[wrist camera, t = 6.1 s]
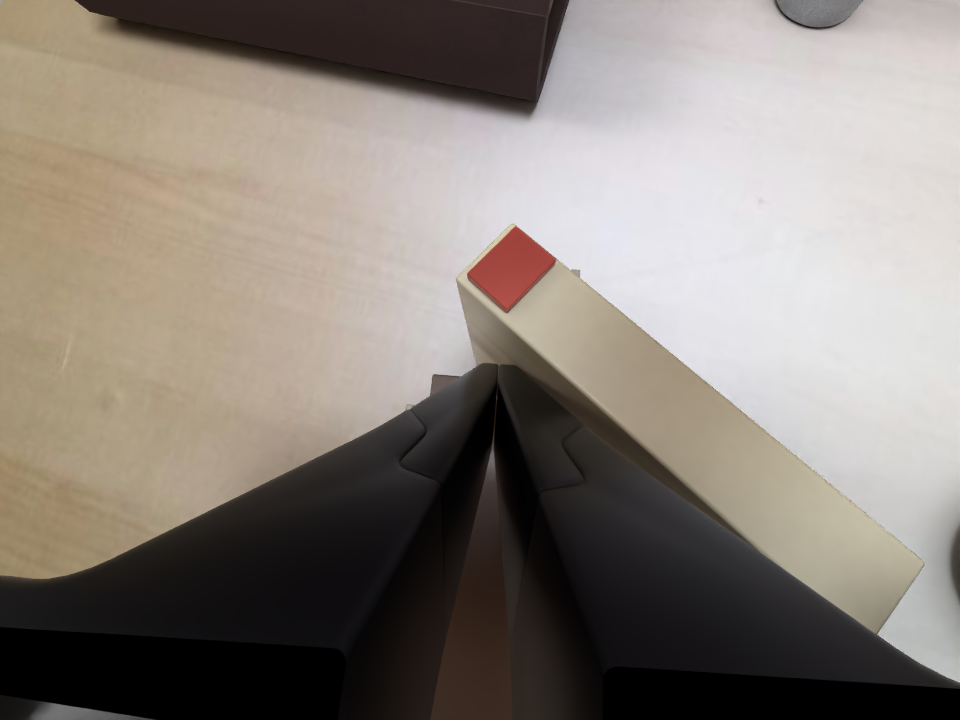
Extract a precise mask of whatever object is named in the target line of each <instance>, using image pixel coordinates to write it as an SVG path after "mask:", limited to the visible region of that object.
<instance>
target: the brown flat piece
mask: <svg viewBox="0 0 960 720" xmlns="http://www.w3.org/2000/svg"><path fill="white" fill-rule="evenodd" d="M571 271H572V272H573V273H574V274H576V275H577V276H578V277H579V278H580V270H573V269H572V270H571ZM458 378H460V376H448V375H436V374H434V375H433V377H432V385H431V394H430V396H431V395H433V394H434V393H436V392H437V391H439V390H441V389H442V388H444V387H445V386H447V385H449V384H450V383H452V382H453V381H455V380H456V379H458ZM497 389H498V385H497ZM496 402H497V398H496ZM413 406H415V405H406V410H408V409H409V410H410V408H412V407H413ZM495 415H496V410H495ZM494 428H495V423H494ZM509 645H510V643H509V637H508V624H507V612H506V599H505V586H504V573H503V561H502V548H501V535H500V523H499V510H498V497H497V485H496V472H495V459H494V436H493V444H492V449H491V454H490V458H489V462H488V466H487V471H486V475H485V479H484V483H483V487H482V492H481V496H480V500H479V504H478V508H477V512H476V517H475V521H474V525H473V529H472V533H471V538H470V542H469V546H468V550H467V554H466V559H465V563H464V567H463V571H462V575H461V580H460V584H459V588H458V592H457V596H456V601H455V605H454V609H453V613H452V617H451V621H450V626H449V630H448V634H447V635H446V642H445V647H444V651H443V656H442V660H441V665H440V670H439V675H438V680H437V685H436V691H435V697H434V702H433V708H432V713H431V719H430V720H512V685H511V664H510V649H509Z"/></svg>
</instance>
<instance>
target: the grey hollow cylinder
mask: <svg viewBox="0 0 960 720" xmlns="http://www.w3.org/2000/svg"><path fill="white" fill-rule="evenodd" d="M776 1H777V4H778V6H779V7H780V9H781V10H782V12H783V13H784V14H785V15H787V16H788V17H789V18H790V19H792V20H794V21H796V22H798V23H800V24H803V25H806V26H811V27H828V26H832V25H835V24H838V23H840V22H842V21H844V20H845V19H847V18H848V17H849V16H850V15H851V14H852V13H853V11H854V10H855V9H856V8H857V7H858V6H859V5H860V4H861V3H862V1H863V0H776Z"/></svg>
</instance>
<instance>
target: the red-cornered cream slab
mask: <svg viewBox="0 0 960 720" xmlns="http://www.w3.org/2000/svg"><path fill="white" fill-rule="evenodd" d="M456 282H457V287H458V291H459V295H460V299H461V303H462V307H463V311H464V315H465V320H466V324H467V328H468V332H469V336H470V340H471V344H472V349H473V353H474V357H475V361H476V364H477V366H479V365H480V364H482V363H494V364H498V365H499V366H500V365H501V364H507V365H515V366H517V367H518V368H519V369H520V370H522V371H523V372H524V373H525V374H526V375H527V376H528V377H530V378H531V379H532V380H533V381H534V382H535V383H537V384H538V385H539V386H540V387H541V388H542V389H543V390H545V391H546V392H547V393H548V394H549V395H550V396H552V397H553V398H554V399H555V400H556V401H557V402H558V403H560V404H561V405H562V406H563V407H564V408H565V409H567V410H568V411H569V412H570V413H571V414H572V415H573V416H575V417H576V418H577V419H578V420H579V421H580V422H582V423H583V424H584V425H586V426H587V427H588V428H589V429H591V430H592V431H593V432H594V433H595V434H596V435H598V436H599V437H600V438H601V439H603V440H604V441H605V442H606V443H608V444H609V445H610V446H611V447H613V448H614V449H615V450H617V451H618V452H619V453H621V454H622V455H623V456H625V457H626V458H627V459H629V460H630V461H632V462H633V463H634V464H636V465H637V466H639V467H640V468H641V469H643V470H644V471H646V472H647V473H648V474H650V475H651V476H653V477H654V478H656V479H657V480H658V481H660V482H661V483H663V484H664V485H665V486H667V487H668V488H670V489H671V490H673V491H674V492H675V493H677V494H678V495H680V496H681V497H682V498H684V499H685V500H687V501H688V502H690V503H691V504H692V505H694V506H695V507H697V508H698V509H699V510H701V511H702V512H704V513H705V514H707V515H708V516H709V517H711V518H712V519H714V520H715V521H716V522H718V523H719V524H721V525H722V526H724V527H725V528H726V529H728V530H729V531H731V532H732V533H733V534H735V535H736V536H738V537H739V538H741V539H742V540H743V541H745V542H746V543H748V544H749V545H750V546H752V547H753V548H755V549H756V550H758V551H759V552H760V553H762V554H763V555H765V556H766V557H767V558H769V559H770V560H772V561H773V562H775V563H776V564H777V565H779V566H780V567H782V568H783V569H784V570H786V571H787V572H789V573H790V574H792V575H793V576H794V577H796V578H797V579H799V580H800V581H801V582H803V583H804V584H806V585H807V586H809V587H810V588H811V589H813V590H814V591H816V592H817V593H818V594H820V595H821V596H823V597H824V598H826V599H827V600H828V601H830V602H831V603H833V604H834V605H835V606H837V607H838V608H840V609H841V610H843V611H844V612H845V613H847V614H848V615H850V616H851V617H852V618H854V619H855V620H857V621H858V622H860V623H861V624H862V625H864V626H865V627H867V628H868V629H869V630H871V631H872V632H874V633H875V634H878V632H879V631H880V629H881V628H882V626H883V625H884V623H885V622H886V621H887V619H888V618H889V616H890V615H891V613H892V612H893V610H894V609H895V607H896V606H897V605H898V603H899V602H900V600H901V599H902V597H903V596H904V594H905V593H906V591H907V590H908V589H909V587H910V586H911V584H912V583H913V581H914V580H915V578H916V577H917V575H918V574H919V573H920V571H921V570H922V568H923V567H924V562H923V560H922V559H920V558H919V557H918V556H917V555H916V554H914V553H913V552H912V551H911V550H909V549H908V548H907V547H906V546H905V545H903V544H902V543H901V542H900V541H899V540H897V539H896V538H895V537H894V536H892V535H891V534H890V533H889V532H888V531H886V530H885V529H884V528H883V527H882V526H880V525H879V524H878V523H877V522H875V521H874V520H873V519H872V518H871V517H869V516H868V515H867V514H866V513H865V512H863V511H862V510H861V509H860V508H858V507H857V506H856V505H855V504H854V503H852V502H851V501H850V500H849V499H848V498H846V497H845V496H844V495H843V494H841V493H840V492H839V491H838V490H837V489H835V488H834V487H833V486H832V485H831V484H829V483H828V482H827V481H826V480H824V479H823V478H822V477H821V476H820V475H818V474H817V473H816V472H815V471H814V470H812V469H811V468H810V467H809V466H807V465H806V464H805V463H804V462H803V461H801V460H800V459H799V458H798V457H797V456H795V455H794V454H793V453H792V452H790V451H789V450H788V449H787V448H786V447H784V446H783V445H782V444H781V443H780V442H778V441H777V440H776V439H775V438H773V437H772V436H771V435H770V434H769V433H767V432H766V431H765V430H764V429H763V428H761V427H760V426H759V425H758V424H756V423H755V422H754V421H753V420H752V419H750V418H749V417H748V416H747V415H746V414H744V413H743V412H742V411H741V410H739V409H738V408H737V407H736V406H735V405H733V404H732V403H731V402H730V401H729V400H727V399H726V398H725V397H724V396H722V395H721V394H720V393H719V392H718V391H716V390H715V389H714V388H713V387H712V386H710V385H709V384H708V383H707V382H705V381H704V380H703V379H702V378H701V377H699V376H698V375H697V374H696V373H695V372H693V371H692V370H691V369H690V368H688V367H687V366H686V365H685V364H684V363H682V362H681V361H680V360H679V359H678V358H676V357H675V356H674V355H673V354H671V353H670V352H669V351H668V350H667V349H665V348H664V347H663V346H662V345H661V344H659V343H658V342H657V341H656V340H654V339H653V338H652V337H651V336H650V335H648V334H647V333H646V332H645V331H644V330H642V329H641V328H640V327H639V326H637V325H636V324H635V323H634V322H633V321H631V320H630V319H629V318H628V317H627V316H625V315H624V314H623V313H622V312H620V311H619V310H618V309H617V308H616V307H614V306H613V305H612V304H611V303H610V302H608V301H607V300H606V299H605V298H603V297H602V296H601V295H600V294H599V293H597V292H596V291H595V290H594V289H593V288H591V287H590V286H589V285H588V284H586V283H585V282H584V281H583V280H582V279H580V278H579V277H578V276H577V275H576V274H574V273H573V272H572V271H571V270H569V269H568V268H567V267H566V266H565V265H563V264H562V263H561V262H560V261H559V260H557V259H556V258H555V257H554V256H552V255H551V254H550V253H549V252H548V251H546V250H545V249H544V248H543V247H542V246H540V245H539V244H538V243H537V242H535V241H534V240H533V239H532V238H531V237H529V236H528V235H527V234H526V233H525V232H523V231H522V230H521V229H520V228H518V227H517V226H516V225H515V224H511V225H510V226H509V227H508V228H507V229H506V230H505V231H504V232H503V233H501V234H500V235H499V236H498V237H497V238H496V239H495V240H494V241H493V242H492V243H491V244H490V245H489V246H488V247H487V248H486V249H485V250H484V251H483V252H482V253H481V254H480V255H479V256H478V257H477V258H476V259H475V260H474V261H473V262H472V263H471V264H470V265H469V266H468V267H467V268H466V269H465V270H463V271H462V272H461V273H460V274H459V275H458V276H457V278H456ZM498 376H499V372H498Z"/></svg>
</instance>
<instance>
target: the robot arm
mask: <svg viewBox="0 0 960 720" xmlns="http://www.w3.org/2000/svg"><path fill="white" fill-rule="evenodd" d="M498 372H499V376H498ZM497 385H498V389H497ZM496 398H497V402H496ZM495 410H496V415H495ZM494 423H495V428H494ZM493 436H494V459H495V472H496V485H497V497H498V510H499V523H500V535H501V548H502V561H503V573H504V586H505V599H506V612H507V624H508V637H509V643H510V645H509V649H510V664H511V685H512V720H960V683H959V682H956V681H954V680H951V679H949V678H947V677H945V676H943V675H941V674H939V673H937V672H935V671H933V670H931V669H929V668H927V667H925V666H924V665H922V664H920V663H918V662H917V661H915V660H914V659H912V658H910V657H909V656H907V655H906V654H904V653H903V652H901V651H900V650H898V649H896V648H895V647H894V646H892V645H891V644H889V643H888V642H886V641H885V640H884V639H882V638H881V637H879V636H878V635H877V634H875V633H874V632H872V631H871V630H869V629H868V628H867V627H865V626H864V625H862V624H861V623H860V622H858V621H857V620H855V619H854V618H852V617H851V616H850V615H848V614H847V613H845V612H844V611H843V610H841V609H840V608H838V607H837V606H835V605H834V604H833V603H831V602H830V601H828V600H827V599H826V598H824V597H823V596H821V595H820V594H818V593H817V592H816V591H814V590H813V589H811V588H810V587H809V586H807V585H806V584H804V583H803V582H801V581H800V580H799V579H797V578H796V577H794V576H793V575H792V574H790V573H789V572H787V571H786V570H784V569H783V568H782V567H780V566H779V565H777V564H776V563H775V562H773V561H772V560H770V559H769V558H767V557H766V556H765V555H763V554H762V553H760V552H759V551H758V550H756V549H755V548H753V547H752V546H750V545H749V544H748V543H746V542H745V541H743V540H742V539H741V538H739V537H738V536H736V535H735V534H733V533H732V532H731V531H729V530H728V529H726V528H725V527H724V526H722V525H721V524H719V523H718V522H716V521H715V520H714V519H712V518H711V517H709V516H708V515H707V514H705V513H704V512H702V511H701V510H699V509H698V508H697V507H695V506H694V505H692V504H691V503H690V502H688V501H687V500H685V499H684V498H682V497H681V496H680V495H678V494H677V493H675V492H674V491H673V490H671V489H670V488H668V487H667V486H665V485H664V484H663V483H661V482H660V481H658V480H657V479H656V478H654V477H653V476H651V475H650V474H648V473H647V472H646V471H644V470H643V469H641V468H640V467H639V466H637V465H636V464H634V463H633V462H632V461H630V460H629V459H627V458H626V457H625V456H623V455H622V454H621V453H619V452H618V451H617V450H615V449H614V448H613V447H611V446H610V445H609V444H608V443H606V442H605V441H604V440H603V439H601V438H600V437H599V436H598V435H596V434H595V433H594V432H593V431H592V430H591V429H589V428H588V427H587V426H586V425H584V424H583V423H582V422H580V421H579V420H578V419H577V418H576V417H575V416H573V415H572V414H571V413H570V412H569V411H568V410H567V409H565V408H564V407H563V406H562V405H561V404H560V403H558V402H557V401H556V400H555V399H554V398H553V397H552V396H550V395H549V394H548V393H547V392H546V391H545V390H543V389H542V388H541V387H540V386H539V385H538V384H537V383H535V382H534V381H533V380H532V379H531V378H530V377H528V376H527V375H526V374H525V373H524V372H523V371H522V370H520V369H519V368H518V367H517V366H515V365H507V364H501V365H500V366H499V365H498V364H494V363H482V364H480V365H479V366H477V367H476V368H474V369H472V370H471V371H469V372H468V373H466V374H464V375H463V376H461V377H460V378H458V379H456V380H455V381H453V382H452V383H450V384H449V385H447V386H445V387H444V388H442V389H441V390H439V391H437V392H436V393H434V394H433V395H431V396H429V397H428V398H426V399H425V400H423V401H421V402H420V403H418V404H417V405H415V406H413V407H412V408H410V410H409V409H408V410H406V411H404V412H403V413H401V414H400V415H398V416H396V417H395V418H393V419H391V420H389V421H388V422H386V423H384V424H383V425H381V426H379V427H377V428H375V429H373V430H371V431H370V432H368V433H366V434H364V435H362V436H360V437H358V438H356V439H354V440H352V441H350V442H348V443H346V444H344V445H342V446H340V447H338V448H336V449H334V450H332V451H330V452H328V453H326V454H324V455H322V456H320V457H318V458H315V459H313V460H311V461H309V462H307V463H305V464H303V465H301V466H299V467H297V468H295V469H293V470H291V471H289V472H287V473H285V474H283V475H281V476H279V477H277V478H275V479H273V480H271V481H269V482H267V483H265V484H263V485H261V486H259V487H257V488H255V489H253V490H251V491H249V492H247V493H245V494H243V495H240V496H238V497H236V498H234V499H232V500H230V501H228V502H226V503H224V504H222V505H220V506H218V507H216V508H214V509H212V510H210V511H208V512H206V513H204V514H202V515H200V516H198V517H196V518H194V519H192V520H190V521H188V522H186V523H184V524H182V525H180V526H178V527H176V528H174V529H172V530H170V531H167V532H165V533H163V534H161V535H159V536H157V537H155V538H153V539H151V540H149V541H147V542H145V543H143V544H141V545H139V546H137V547H135V548H133V549H131V550H129V551H127V552H125V553H123V554H121V555H119V556H117V557H115V558H113V559H111V560H108V561H106V562H104V563H101V564H99V565H97V566H94V567H92V568H89V569H86V570H83V571H80V572H77V573H74V574H70V575H66V576H61V577H56V578H50V579H30V578H22V577H13V576H0V720H430V719H431V713H432V708H433V702H434V697H435V691H436V685H437V680H438V675H439V670H440V665H441V660H442V656H443V651H444V647H445V642H446V635H447V634H448V630H449V626H450V621H451V617H452V613H453V609H454V605H455V601H456V596H457V592H458V588H459V584H460V580H461V575H462V571H463V567H464V563H465V559H466V554H467V550H468V546H469V542H470V538H471V533H472V529H473V525H474V521H475V517H476V512H477V508H478V504H479V500H480V496H481V492H482V487H483V483H484V479H485V475H486V471H487V466H488V462H489V458H490V454H491V449H492V444H493Z"/></svg>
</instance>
